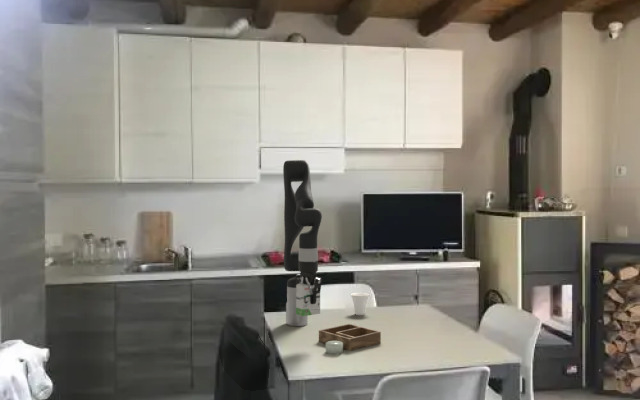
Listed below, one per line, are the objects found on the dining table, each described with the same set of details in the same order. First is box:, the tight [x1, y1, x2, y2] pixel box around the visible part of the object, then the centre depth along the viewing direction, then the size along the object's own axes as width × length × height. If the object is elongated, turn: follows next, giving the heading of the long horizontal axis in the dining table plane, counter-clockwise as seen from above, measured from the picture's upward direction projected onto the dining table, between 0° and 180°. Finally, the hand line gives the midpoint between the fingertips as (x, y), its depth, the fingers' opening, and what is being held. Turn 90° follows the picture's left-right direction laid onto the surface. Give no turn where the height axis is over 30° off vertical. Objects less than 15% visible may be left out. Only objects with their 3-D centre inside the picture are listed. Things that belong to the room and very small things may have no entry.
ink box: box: [296, 284, 321, 316], centre depth 225 cm, size 9×5×12 cm, turn 124°
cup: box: [350, 292, 371, 316], centre depth 281 cm, size 9×9×10 cm
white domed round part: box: [325, 341, 344, 355], centre depth 217 cm, size 6×6×4 cm
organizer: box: [318, 323, 382, 352], centre depth 230 cm, size 18×17×4 cm
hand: (308, 302), depth 225 cm, fingers closed on ink box, 5 cm apart
